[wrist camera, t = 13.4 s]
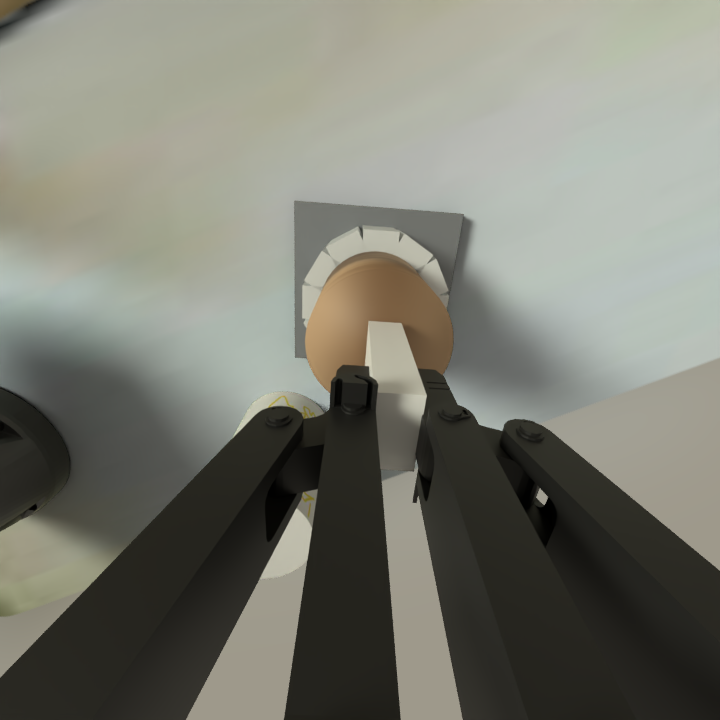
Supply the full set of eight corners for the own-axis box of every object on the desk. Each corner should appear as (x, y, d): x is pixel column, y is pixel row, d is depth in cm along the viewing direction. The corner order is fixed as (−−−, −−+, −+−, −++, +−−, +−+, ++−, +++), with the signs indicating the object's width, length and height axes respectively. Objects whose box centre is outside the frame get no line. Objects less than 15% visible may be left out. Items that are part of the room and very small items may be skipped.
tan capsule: (324, 332, 28) (304, 405, 18) (327, 241, 25) (305, 264, 15) (411, 338, 28) (440, 413, 18) (423, 248, 25) (466, 276, 15)
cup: (339, 406, 32) (329, 508, 21) (315, 471, 36) (296, 589, 25) (253, 380, 31) (196, 475, 20) (236, 450, 34) (179, 564, 23)
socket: (296, 352, 30) (284, 382, 25) (296, 201, 25) (281, 199, 20) (434, 361, 31) (449, 392, 26) (459, 213, 26) (484, 215, 21)
